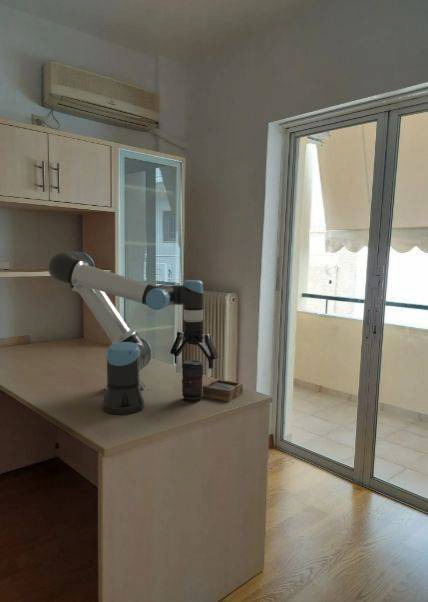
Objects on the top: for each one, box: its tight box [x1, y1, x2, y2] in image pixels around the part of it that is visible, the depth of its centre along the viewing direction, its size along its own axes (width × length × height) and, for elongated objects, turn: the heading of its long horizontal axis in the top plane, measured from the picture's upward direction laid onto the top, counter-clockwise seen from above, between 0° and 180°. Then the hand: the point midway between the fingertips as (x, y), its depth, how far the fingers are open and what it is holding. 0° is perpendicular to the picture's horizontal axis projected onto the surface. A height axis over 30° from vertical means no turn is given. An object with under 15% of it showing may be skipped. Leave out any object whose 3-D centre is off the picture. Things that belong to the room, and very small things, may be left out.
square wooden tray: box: [202, 378, 244, 402], centre depth 181 cm, size 12×12×4 cm
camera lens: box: [181, 359, 204, 403], centre depth 174 cm, size 8×8×15 cm
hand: (193, 374), depth 174 cm, fingers open, 13 cm apart
